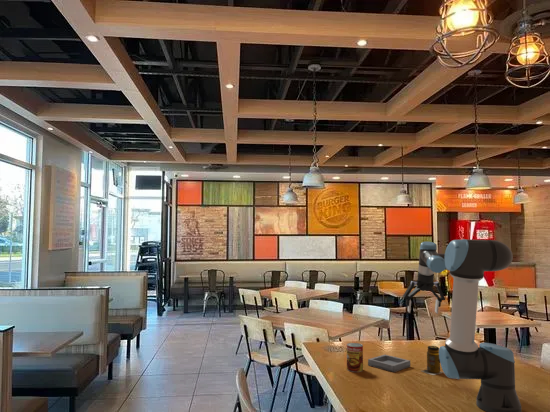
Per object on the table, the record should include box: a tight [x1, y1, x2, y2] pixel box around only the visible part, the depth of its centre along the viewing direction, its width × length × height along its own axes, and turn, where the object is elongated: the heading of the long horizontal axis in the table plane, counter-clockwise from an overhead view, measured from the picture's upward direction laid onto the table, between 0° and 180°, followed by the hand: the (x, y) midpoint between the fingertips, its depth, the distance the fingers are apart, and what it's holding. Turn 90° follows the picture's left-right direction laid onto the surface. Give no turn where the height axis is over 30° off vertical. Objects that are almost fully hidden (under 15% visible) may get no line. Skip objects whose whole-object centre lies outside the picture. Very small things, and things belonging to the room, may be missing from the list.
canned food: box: [346, 342, 364, 373], centre depth 204 cm, size 8×8×12 cm
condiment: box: [421, 345, 445, 376], centre depth 203 cm, size 7×8×12 cm
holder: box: [367, 354, 411, 373], centre depth 211 cm, size 15×15×3 cm
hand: (422, 312), depth 210 cm, fingers open, 13 cm apart
